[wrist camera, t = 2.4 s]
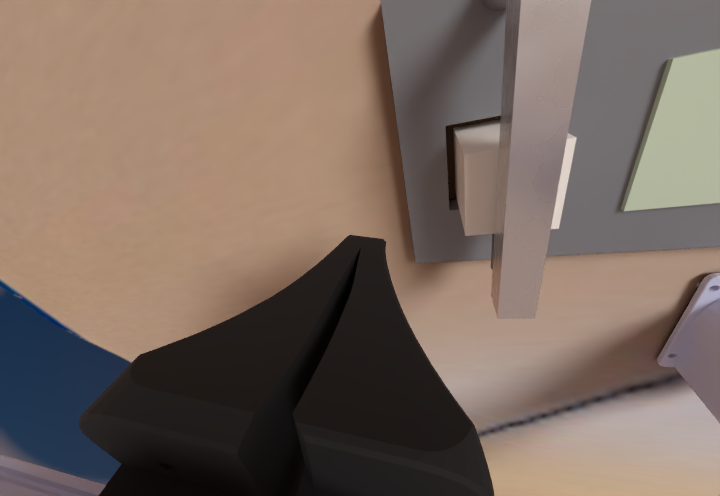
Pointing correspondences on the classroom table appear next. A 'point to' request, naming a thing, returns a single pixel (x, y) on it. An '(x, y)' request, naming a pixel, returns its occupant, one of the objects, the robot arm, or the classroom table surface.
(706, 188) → the socket plate
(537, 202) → the ball-topped lever
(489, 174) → the plug
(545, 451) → the classroom table surface
